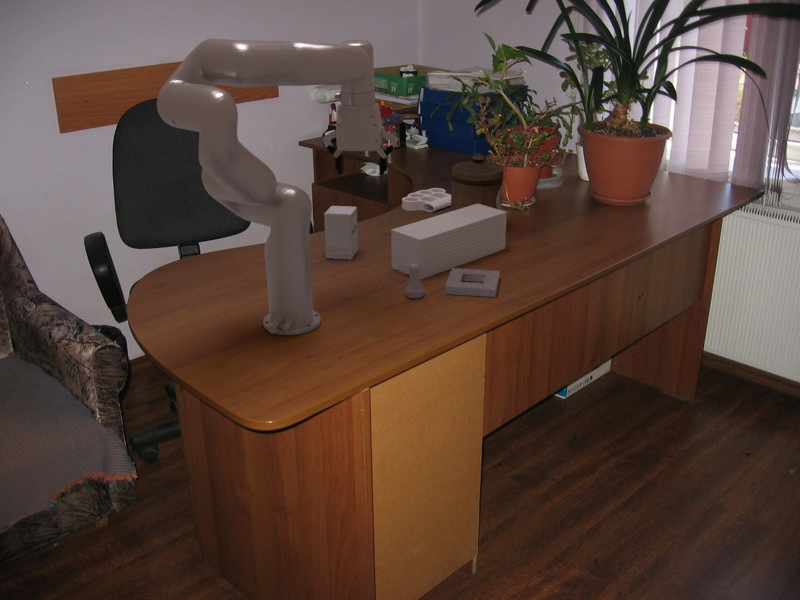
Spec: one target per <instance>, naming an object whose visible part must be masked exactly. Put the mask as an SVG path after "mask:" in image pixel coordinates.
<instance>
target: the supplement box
mask: <svg viewBox="0 0 800 600" xmlns="http://www.w3.org/2000/svg"><path fill="white" fill-rule="evenodd" d="M323 217H324V218H323V219H324V238H325V239H324V241H325V259H331V258H332V260H333V259H336V260H346V259H348V261H350V260H351V261H352V260H353V258H354V256H355V255H356V253H357V252H358V251H359V239H358V236H359V234H358V233H359V232H358V208H357V206H347V205H345V206H343V205H342V206H341V205H331V206H330V207H329V208H328V209H327V210H326V211H325V212H324V214H323Z"/></svg>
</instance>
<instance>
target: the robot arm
mask: <svg viewBox="0 0 800 600" xmlns="http://www.w3.org/2000/svg"><path fill="white" fill-rule="evenodd" d="M191 50H192V51H190V53H188V55H187V56H186V57H185V58H184V59H183V60H182V61H181V63H180V64H179V65H178V67H177V68H176V69H175V70H174V72H173V73H172V74H171V75H170V76H169V78H168V79H167V80H166V81H165V83H164V84H163V86H162V87H161V89H160V90H159V92H158V95H157V100H156V107H157V108H156V109H157V112H158V114H159V116H160V118H161V120H162V121H163V122H164V123H166V124H168V125H169V126H171V127H173V128H177V129H182V130H187V131H192V132H197V133H199V138H198V161H199V165H200V166H201V170H202V171H201V181H202V185H203V188H204V190H205V191H206V192H207V193H208V195H209V196H210V197H212V198H213V199H214V200H215V201H216V202H218V203H219V204H221V205H222V206H224V207H225V208H226V209H228V210H229V211H230V212H232V213H233V214H235V215H236V216H238V217H239V218H241V219H243V220H244V221H247V222H251V223H253V224H257V225H258V224H259V225H262V226H265V227H267V228H269V229H270V231H269V235H268V236H267V239H266V241H265V243H264V244H265V245H264V262H265V263H264V264H265V269H266V270H265V273H266V284H267V286H266V288H267V298H268V310H269V312H268V313H267V314H266V315H265V316H264V318H263V320H262V325H263V327H264V329H265V330H266V331H268V332H269V333H270V334H275V335H280V336H296V335H303V334H306V333H309V332H312V331H313V330H315V329H317V328H318V327H319V326H320V324H321V315H320V314H319V312H317V310H314V306H313V305H314V304H313V289H312V288H313V287H312V274H311V273H312V272H311V271H312V270H311V256H310V227H311V219H312V213H313V204H312V200H311V198H310V196H309V194H308V193H307V192H306V191H304V190H303V189H302V188H300V187H298V186H297V185H293V184H290V183H285V182H282V181H277V177H276V175H275V173H274V172H273V170H272V168H270V167H269V165H267V164H266V163H264V161H262V160H261V159H259V157H257V156H256V155H255V154H254V153H252V152H251V151H250V150H249V149H248V148H246V147H245V145H243V144H242V143H241V142H240V140H239V137H238V122H239V113H238V112H239V111H238V106H237V104H236V101H235V99H234V98H233V96H232V95H231V94H230V93H229V92H227V90H224V89H222V88H220V87H217V86H216V85H219V86H225V87H227V86H228V87H234V88H261V87H285V86H287V87H288V86H289V87H290V86H291V87H292V86H293V87H303V86H316V85H317V86H337V85H338V86H339V85H340V91H339V92H334V100H338V101H340V104H338V106H337V111H336V121H335V123H336V124H335V125H336V126H335V130H334V131H332V132H331V133H328V134H327V135H324V136H323V137H322V138H321V139H322V140H321V141H322V142H323V145H324V146H325V148H326V150H327V151H328V153H330V154H331V155H332V156H333V158H334V161H335V170H336V171H337V173H338V174H337V175H338V176H341V175H343V173H344V172H345V167H344V165H345V164H344V162H345V161H344V155H343V154H342V152H377V154H378V155H379V156H380V157H379V159H378V164H379V165H378V166H379V176H381V177H382V176H384V174H385V173H386V172H387V171H388V159H387V158H388V156H389V155H390V154H392V152H393V151H394V149H395V147H396V145H397V144H398V141H399V137H398V136H396V135H394V134H393V133H390V132H388V131H386V130H385V129H383V123H382V117H381V111H380V107H379V103H378V102H376V90H375V89H376V88H375V85H376V84H375V62H374V61H375V60H374V59H375V58H374V46H373V43H372V42H371V41H369V40H366V39H349V40H343V41H342V42H337V43H335V42H334V43H333V42H332V43H329V42H326V43H324V42H323V43H322V42H321V43H318V44H312V43H308V42H306V43H305V42H299V41H293V40H292V41H291V40H247V39H245V40H243V39H242V40H241V39H226V38H215V37H214V38H207V39H205V40H203V41H201V42H200V43H198V45H197V46H196V47H194V49H191ZM333 139H336V141H335V142H336V143H335V144H336V146H335V145H333V143H332V141H331V140H333ZM384 139H385V140H387V141H389V142H390V143H389V145H388V146H387V148H386V147H385V146H384V145H383V143H384Z"/></svg>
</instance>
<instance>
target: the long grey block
mask: <svg viewBox="0 0 800 600" xmlns="http://www.w3.org/2000/svg"><path fill="white" fill-rule="evenodd" d="M507 212H508V211H505V210H503V209H502V210H498V209H495V208H491V207H488V206H484V205H481V204H474V205H471V206H468V207H464V208H461V209H458V210H454V211H451V210H450V211H448V212H446V213H445V212H444V213H443V214H439V215H435V216H432V217H429V218H426V219H422V220H417V221H416V222H412V223H408V224H406V225H401V226H399V227H396V228H392V229H390V231H391V232H390V233H391V234H390V235H391V236H390V240H391V241H390V243H391V249H390V250H391V269H392V268H394V269H393V270H395V269H396V270H395V271H397V270H399V271H398V272H400V271H401V272H400V273H402V272H403V274H405V273H406V274H405V275H407V274H409V272H410V271H409V270H408V266H409V263H411V264H412V262H414V264H416V262H417V263H419V264H420V267H421V270H420V271H419V272H420V279H421V280H423V279H427V278H428V277H432V276H434V275H436V274H440V273H442V272H445V271H448V270H451V269H452V268H457V267H459V266H462V265H465V264H467V263H470V262H473V261H475V260H478V259H481V258H484V257H486V256H489V255H492V254H494V253H497V252H500V251H503V250H505V249H506V242H507V241H506V236H507V215H508V213H507Z"/></svg>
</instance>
